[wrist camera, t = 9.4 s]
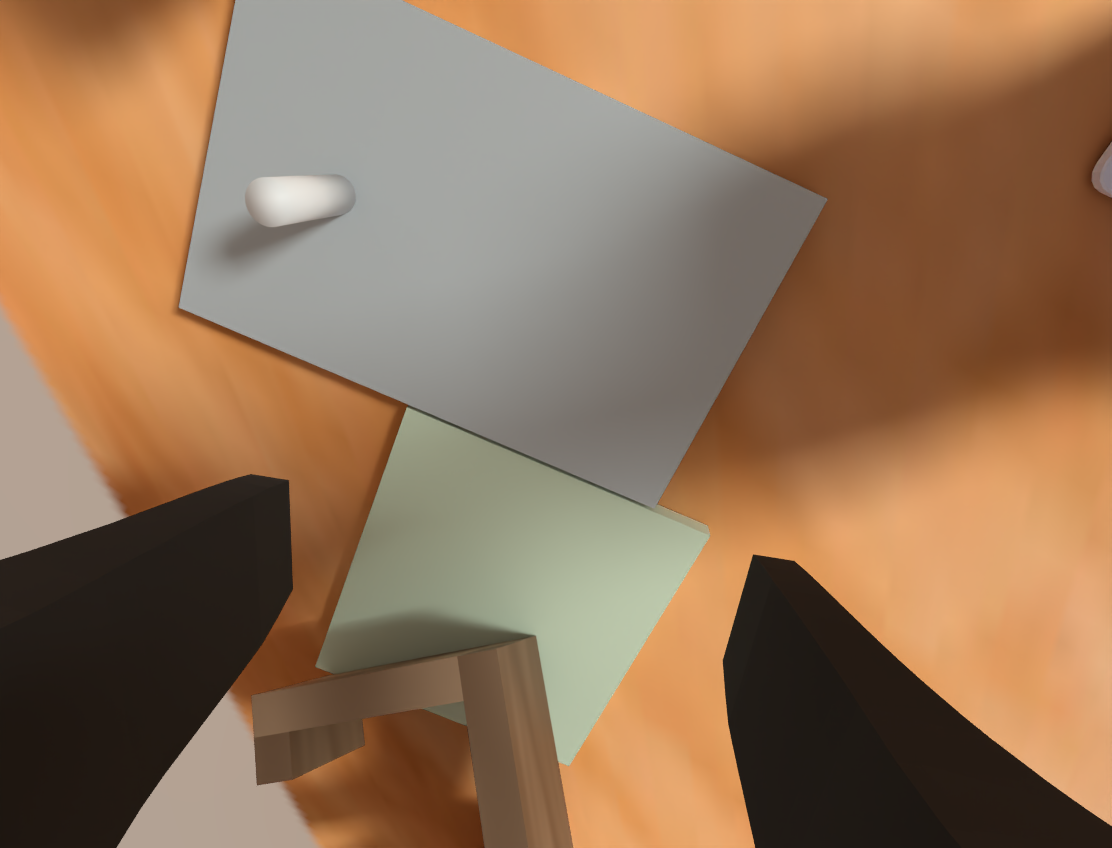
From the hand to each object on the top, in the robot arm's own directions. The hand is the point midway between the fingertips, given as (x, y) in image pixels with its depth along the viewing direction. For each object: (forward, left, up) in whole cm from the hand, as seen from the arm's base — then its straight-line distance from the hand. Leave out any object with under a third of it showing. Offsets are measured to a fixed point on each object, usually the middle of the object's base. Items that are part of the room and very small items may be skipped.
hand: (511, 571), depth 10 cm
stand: (+3, -2, -10) cm, 11 cm away
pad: (-1, +8, -10) cm, 13 cm away
